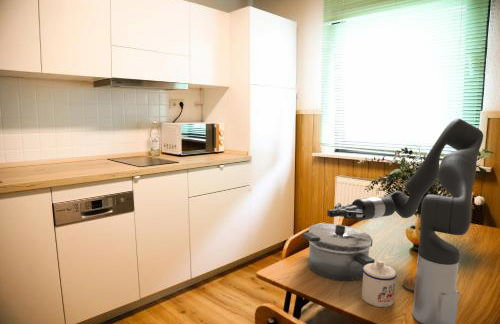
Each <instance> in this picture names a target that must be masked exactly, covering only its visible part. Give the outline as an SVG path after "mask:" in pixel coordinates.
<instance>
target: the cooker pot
mask: <svg viewBox="0 0 500 324" xmlns="http://www.w3.org/2000/svg"><path fill="white" fill-rule="evenodd" d="M308 243H309V246H308V247H309V249H308V268H309V269H310V271H312V272H313V273H314V274H315V275H317V276H319V277H322V278H325V279H327V280H332V281H337V282H355V281H359V280H363V267H364V266H365V265H366V264H370V263H376V262H375V260H376V259H374V258H372V257H370V255H369V254H370V249H371V247H373V239H372V241H371V245H370V246H368V247H366V248H359V249H351V248H342V247H336V246H331V245H328V244H325V243H322V242H319V241H314V242H311V241H309V240H308Z"/></svg>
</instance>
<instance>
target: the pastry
mask: <svg viewBox="0 0 500 324" xmlns="http://www.w3.org/2000/svg"><path fill="white" fill-rule="evenodd" d="M415 281H416V277H409V278H405V279H404V280H403V281H402V286H404V287H405V289H407V290H409V291H413V292H414V291H415Z"/></svg>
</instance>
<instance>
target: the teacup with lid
mask: <svg viewBox="0 0 500 324" xmlns="http://www.w3.org/2000/svg"><path fill="white" fill-rule="evenodd" d="M396 278H397V272H396V270H395V269H394V268H393V267H391V266H389V265H386V264H385V262H384V261H382V260H377V261H376V262H374V263H370V264H366V265H365V266H364V267H363V278H362V287H361V288H362V289H361V298H362V300H364V302H366V303H367V304H369V305H371V306H373V307H377V308H387V307H391V306H392V305H393V304H394V300H395V299H394V298H395V287H396V285H395V284H396Z"/></svg>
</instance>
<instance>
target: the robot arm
mask: <svg viewBox="0 0 500 324" xmlns="http://www.w3.org/2000/svg"><path fill="white" fill-rule="evenodd" d="M483 141H484V132H483V131H482V130H480V128H478V127H476V126H475V125H474V124H473V125H472V124H471V123H469V122H467V121H466V120H463V119H462V118H455V119H453V120H451V122H449V124H448V125H446V127H445V128H444V130H443V131H442V132H441V133H440V135H439V137H438V138H437V140H436V141H435V143H434V144H433V146H432V147H431V149H430V150H429V152H428V154H427V155H426V157H425V158H424V160H423V162H422V163H421V165H420V166H419V167H418V169H417V170H416V171H415V173H413V175H412V176H411V177H410V179H408V181H407V182H406V184H405V189H406V190H407V192H408V196H407V194H406V193H405V192H403V191H400V190H395V191H392V192H391V193H390V194H386V195H385V196H382V197H380V196H379V197H364V198H357V199H354V201H353V202H352V203H347V204H344V205H342V203H341V202H339V203H336V204H335V205H334V206H333V209H327V211H326V212H327V213H326V214H327V215H326V216H327V217H329V218H335V217H340V218H343V219H349V220H350V219H351V220H358V221H367V220H374V219H378V218H382V217H388V216H392V215H393V214H394V213H395V212H396V214H398V216H399V217H401V218H402V219H409V218H411V217H413V216H414V215H415V214H416V212H417V210H418V209H419V207H420V204H421V207H420V223H419V225H420V228H419V229H420V230H419V242H418V250H417V251H418V252H417V262H416V263H417V264H416V271H415V273H416V274H415V278H416V281H415V291H413V292H414V293H413V304H412V305H413V306H412V316H413V318H414V319H415V320H416V321H417V322H419V323H420V324H456V323H457V314H458V307H459V297H460V291H459V290H458V289H457V282H458V281H457V280H458V272H459V271H458V270H459V262H460V250H459V248H457V247H456V246H455V245H453V244H451V243H450V242H448V241H446V240H444V239H443V238H441V237H440V236H439V235H438V234H437V233H442V234H446V235H447V234H448V235H453V236H463V235H465V234H466V233H467V232H468V231H469V228H470V227H471V222H472V205H473V202H472V200H473V199H472V198H473V190H474V189H473V188H474V183H475V180H476V173H477V165H478V163H477V162H478V157H479V153H480V150H481V146H482V144H483ZM446 146H448V147H450V148H452V149H454V151H451V152H449V153H448V154H446V155H444V156H443V158H442V159H441V155H442V153H443V150H444V148H445V147H446ZM440 160H441V161H440ZM437 179H438V180H439V183H440V184H441V186H442V187H443V188H444V190H445V191H446V192H447V193H449V194H450V196H445V195H438V194H426V193H427V192H428V191H429V190H430V188H431V187H433V185H434V184H435V182H436V181H437ZM425 194H426V195H425ZM436 232H437V233H436Z"/></svg>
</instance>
